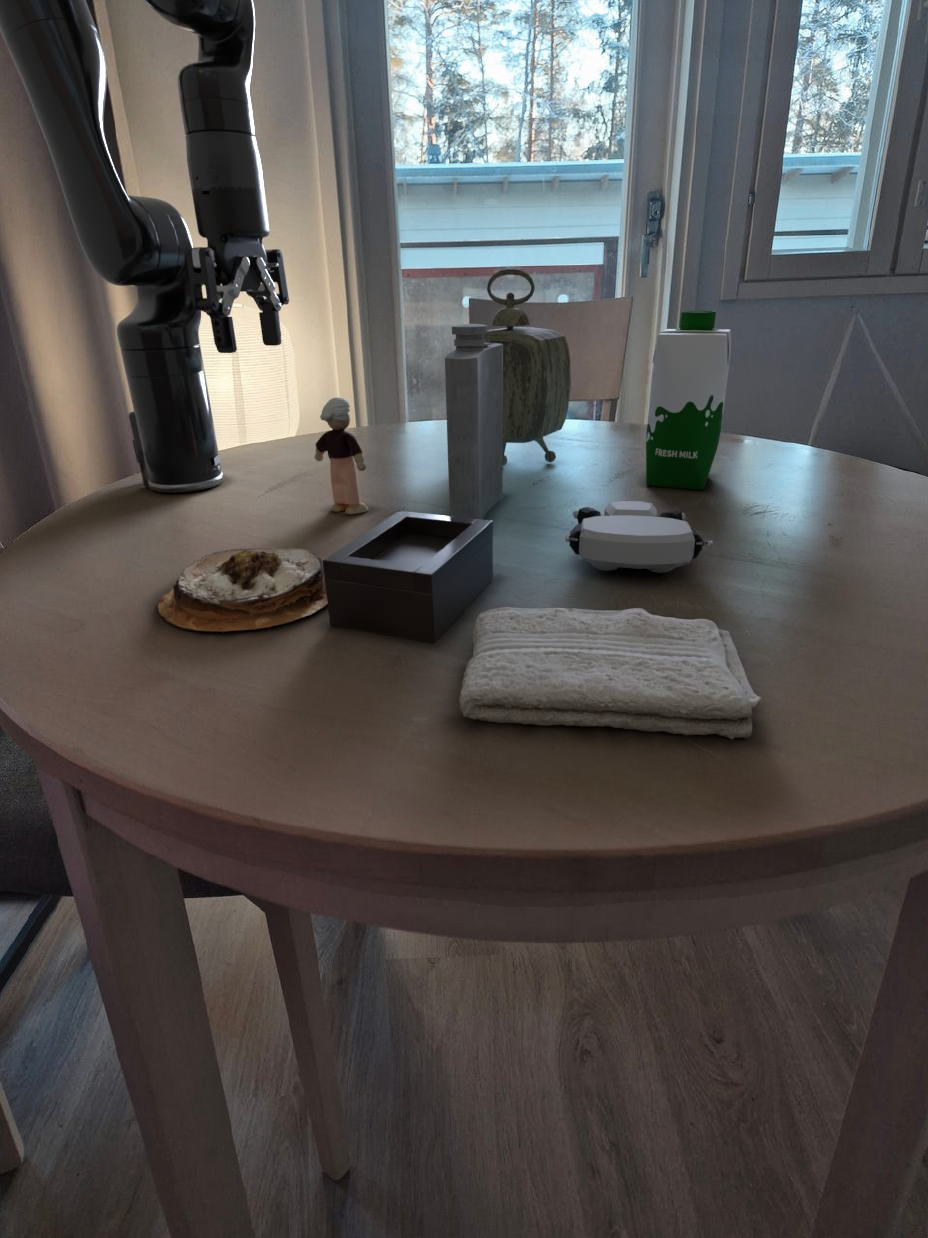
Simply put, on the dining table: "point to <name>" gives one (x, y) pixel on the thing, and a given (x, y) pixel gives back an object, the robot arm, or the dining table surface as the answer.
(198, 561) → the cream topped tart
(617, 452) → the dining table surface
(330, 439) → the grandmother figurine
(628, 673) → the washcloth
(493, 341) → the tabletop clock
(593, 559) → the robot toy
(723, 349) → the milk carton
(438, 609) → the box with recessed lid
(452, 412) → the hip flask
